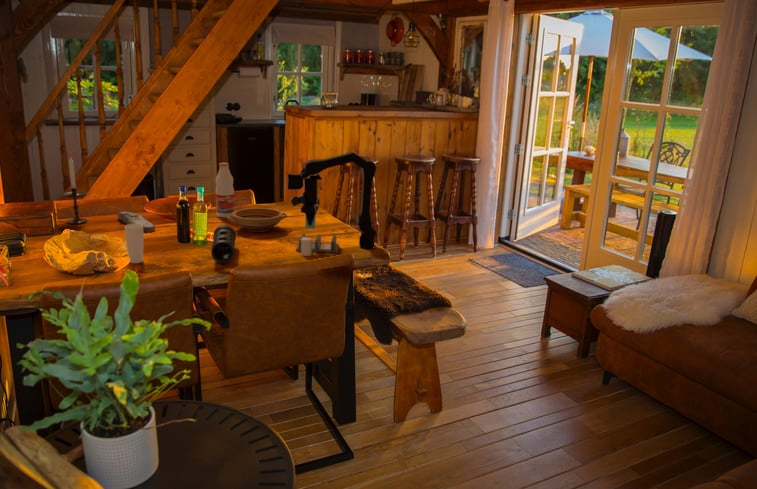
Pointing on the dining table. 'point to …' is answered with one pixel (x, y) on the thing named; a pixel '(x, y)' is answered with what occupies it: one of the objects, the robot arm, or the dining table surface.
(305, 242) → the off-white plug
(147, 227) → the long grey stone
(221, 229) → the muzzle brake
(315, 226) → the teal plug
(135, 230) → the drinking glass
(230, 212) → the fruit juice
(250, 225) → the ceramic bowl
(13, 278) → the dining table surface
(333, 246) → the slot rack
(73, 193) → the candlestick
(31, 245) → the dining table surface
